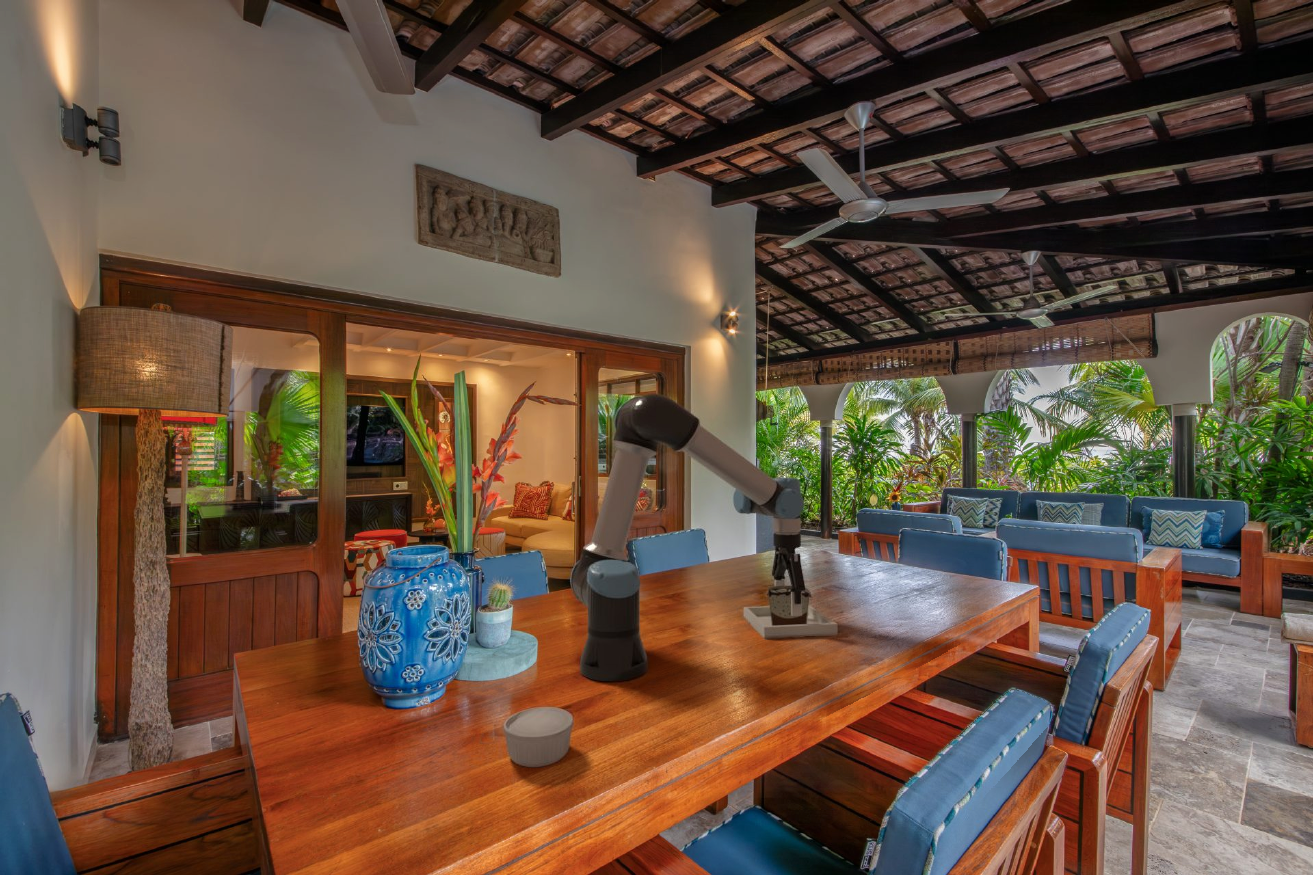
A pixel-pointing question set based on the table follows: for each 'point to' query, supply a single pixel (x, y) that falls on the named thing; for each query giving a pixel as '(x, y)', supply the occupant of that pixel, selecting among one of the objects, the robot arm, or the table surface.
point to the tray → (814, 626)
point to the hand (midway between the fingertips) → (787, 608)
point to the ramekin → (538, 736)
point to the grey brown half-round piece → (786, 606)
